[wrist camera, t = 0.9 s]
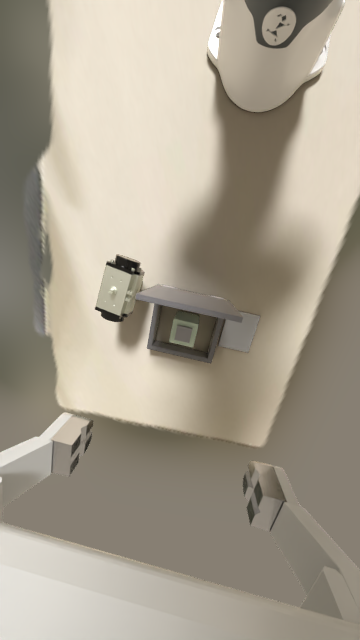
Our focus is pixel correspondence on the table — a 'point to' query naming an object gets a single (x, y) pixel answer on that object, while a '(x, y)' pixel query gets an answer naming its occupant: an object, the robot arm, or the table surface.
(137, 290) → the pneumatic valve
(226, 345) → the pad
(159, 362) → the table surface
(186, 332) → the block
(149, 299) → the case
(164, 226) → the table surface
